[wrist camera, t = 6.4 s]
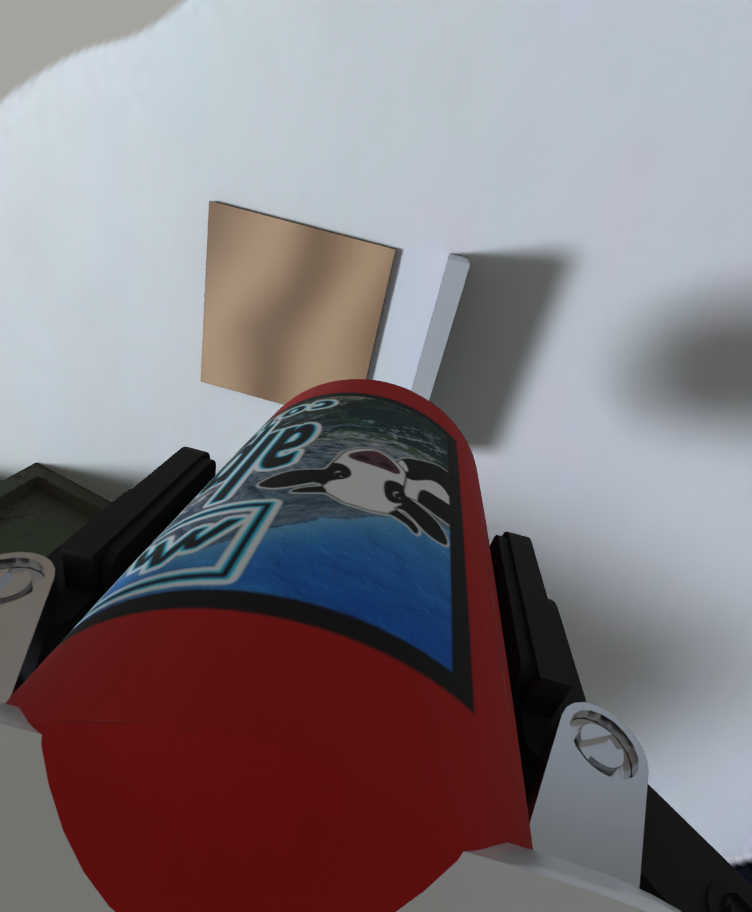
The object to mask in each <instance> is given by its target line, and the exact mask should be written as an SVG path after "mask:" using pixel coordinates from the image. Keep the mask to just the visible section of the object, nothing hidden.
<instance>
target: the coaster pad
mask: <svg viewBox="0 0 752 912" xmlns="http://www.w3.org/2000/svg"><path fill="white" fill-rule="evenodd" d="M395 252H396V249H392V248H388V247H385V246H381V245H377V244H373V243H369V242H365V241H362V240H358V239H354V238H350V237H346V236H343V235H339V234H335V233H331V232H327V231H324V230H320V229H316V228H312V227H308V226H304V225H301V224H297V223H293V222H289V221H285V220H282V219H278V218H274V217H270V216H266V215H263V214H259V213H255V212H251V211H247V210H244V209H240V208H236V207H232V206H228V205H224V204H221V203H217V202H213V201H209V217H208V238H207V259H206V280H205V301H204V322H203V343H202V364H201V382H205V383H208V384H212V385H215V386H219V387H223V388H226V389H230V390H233V391H237V392H241V393H244V394H248V395H251V396H255V397H259V398H262V399H266V400H270V401H273V402H277V403H280V404H284V405H285V404H286V403H287V402H288V401H290V400H291V399H292V398H294V397H295V396H297V395H299V394H300V393H302V392H304V391H306V390H308V389H310V388H313V387H315V386H318V385H321V384H324V383H328V382H333V381H338V380H347V379H367V375H368V371H369V366H370V362H371V357H372V353H373V349H374V344H375V340H376V336H377V331H378V327H379V322H380V318H381V314H382V309H383V305H384V300H385V296H386V292H387V287H388V283H389V278H390V274H391V270H392V265H393V261H394V257H395Z"/></svg>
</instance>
